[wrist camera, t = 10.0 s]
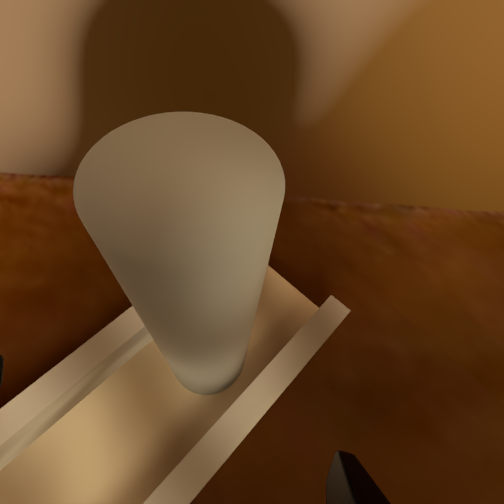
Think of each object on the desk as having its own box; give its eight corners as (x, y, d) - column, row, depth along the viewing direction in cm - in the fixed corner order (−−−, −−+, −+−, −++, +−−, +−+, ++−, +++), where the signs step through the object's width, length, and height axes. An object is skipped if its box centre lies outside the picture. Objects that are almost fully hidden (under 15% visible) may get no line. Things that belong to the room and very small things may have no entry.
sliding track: (-44, 781, 10) (-136, 892, 7) (-131, 556, 12) (-222, 581, 10) (333, 330, 19) (350, 310, 16) (238, 249, 21) (240, 221, 18)
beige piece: (206, 412, 15) (166, 314, 4) (156, 356, 16) (30, 170, 5) (259, 355, 16) (325, 180, 6) (210, 308, 18) (192, 90, 7)
